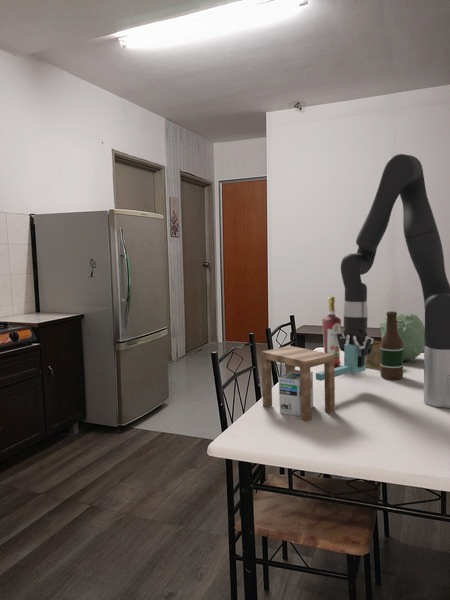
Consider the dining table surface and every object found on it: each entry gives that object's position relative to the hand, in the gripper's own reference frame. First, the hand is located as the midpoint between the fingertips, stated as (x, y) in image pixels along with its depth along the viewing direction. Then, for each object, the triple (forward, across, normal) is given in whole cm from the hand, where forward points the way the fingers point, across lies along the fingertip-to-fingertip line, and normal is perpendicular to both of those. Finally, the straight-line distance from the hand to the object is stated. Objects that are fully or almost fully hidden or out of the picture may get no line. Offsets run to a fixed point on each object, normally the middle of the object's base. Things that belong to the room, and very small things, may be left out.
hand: (354, 365), depth 155 cm
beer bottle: (+8, 0, +22) cm, 24 cm away
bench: (+9, 0, -27) cm, 28 cm away
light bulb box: (+9, 0, -27) cm, 29 cm away
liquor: (+9, -26, +20) cm, 35 cm away
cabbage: (+8, -12, +48) cm, 50 cm away
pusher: (+2, 0, -7) cm, 8 cm away
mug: (+9, -17, +32) cm, 38 cm away
